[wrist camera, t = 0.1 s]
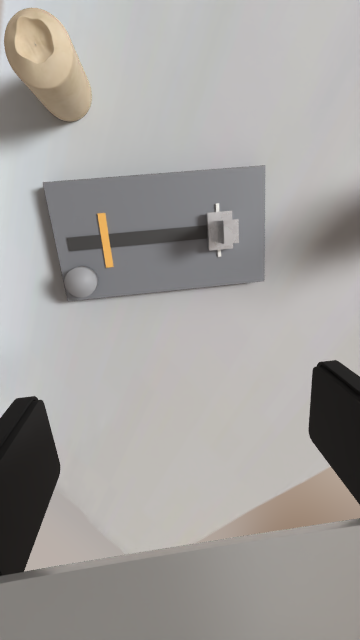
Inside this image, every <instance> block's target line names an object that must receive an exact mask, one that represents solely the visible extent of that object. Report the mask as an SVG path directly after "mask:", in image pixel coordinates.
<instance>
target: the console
mask: <svg viewBox="0 0 360 640" xmlns="http://www.w3.org/2000/svg"><path fill="white" fill-rule="evenodd" d="M43 186H44V191H45V196H46V201H47V205H48V210H49V215H50V219H51V224H52V229H53V234H54V238H55V243H56V248H57V253H58V257H59V262H60V267H61V271H62V276H63V281H64V286H65V290H66V295H67V300H68V301H75V300H85V299H95V298H104V297H114V296H124V295H134V294H143V293H153V292H163V291H173V290H182V289H192V288H202V287H212V286H221V285H231V284H241V283H251V282H260V281H264V258H265V165H262V166H249V167H236V168H223V169H210V170H197V171H184V172H171V173H158V174H145V175H132V176H119V177H106V178H93V179H80V180H67V181H54V182H43ZM223 211H232V220H233V219H239V243H233V248H232V249H221V250H211V251H209V250H208V238H207V219H206V213H211V212H223Z"/></svg>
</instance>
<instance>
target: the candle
mask: <svg viewBox="0 0 360 640" xmlns="http://www.w3.org/2000/svg"><path fill="white" fill-rule="evenodd" d="M4 46H5V52H6V56H7V59H8V61H9V63H10V65H11V67H12V69H13V70H14V72H15V73H16V74H17V76H18V77H19V78H20V79H21V80H22V81H23V82H24V83H25V85H26V86H27V87H28V88H29V89H30V90H31V91H32V92H33V94H34V95H35V96H36V97H37V98H38V99H39V100H40V101H41V103H42V104H43V105H44V106H45V107H46V108H47V109H48V110H49V111H50V112H51V113H52V114H53V115H54V116H55V117H57V118H59V119H61V120H64V121H77V120H79V119H81V118H82V117H84V116H85V115H86V113H87V112H88V110H89V108H90V105H91V100H92V94H91V87H90V84H89V81H88V79H87V77H86V74H85V72H84V70H83V67H82V65H81V63H80V60H79V58H78V56H77V54H76V51H75V49H74V47H73V44H72V42H71V40H70V37H69V35H68V33H67V31H66V29H65V28H64V26H63V25H62V24H61V22H60V21H59V20H58V19H57V18H56V17H54V16H53V15H52V14H50V13H49V12H47V11H45V10H42V9H38V8H27V9H23V10H21V11H19V12H17V13H16V14H15V15H14V16H13V17H12V18H11V20H10V21H9V23H8V25H7V27H6V30H5V36H4Z"/></svg>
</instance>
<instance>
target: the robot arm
mask: <svg viewBox="0 0 360 640" xmlns="http://www.w3.org/2000/svg"><path fill="white" fill-rule="evenodd" d="M309 435H310V438H311V440H312V442H313V443H314V444H315V446H316V447H317V448H318V450H319V451H320V452H321V454H322V455H323V456H324V458H325V459H326V460H327V462H328V463H329V464H330V466H331V467H332V468H333V470H334V471H335V472H336V474H337V475H338V476H339V478H340V479H341V480H342V482H343V483H344V484H345V486H346V487H347V488H348V489H349V491H350V492H351V494H352V495H353V496H354V498H355V499H356V500H357V502H358V503H359V504H360V377H359V376H358V375H357V374H355V373H354V372H352V371H351V370H350V369H348V368H347V367H346V366H344V365H343V364H341V363H340V362H339V361H336V360H334V361H325V362H319V363H318V364H317V367H314V368H313V374H312V388H311V403H310V417H309ZM59 474H60V462H59V458H58V454H57V451H56V447H55V443H54V439H53V435H52V432H51V428H50V424H49V420H48V416H47V413H46V409H45V405H44V402H43V401H42V400H38V398H37V397H35V396H32V397H24V398H17V399H15V400H14V401H13V403H12V404H11V405H10V407H9V408H8V409H7V410H6V412H5V413H4V414H3V415H2V417H1V418H0V640H360V518H359V519H352V520H346V521H339V522H332V523H325V524H319V525H312V526H305V527H299V528H292V529H286V530H279V531H273V532H266V533H260V534H253V535H247V536H240V537H234V538H228V539H221V540H215V541H209V542H202V543H196V544H189V545H183V546H177V547H170V548H164V549H158V550H152V551H145V552H139V553H133V554H127V555H121V556H115V557H109V558H103V559H96V560H91V561H84V562H78V563H72V564H67V565H60V566H54V567H48V568H42V569H37V570H31V571H26V572H24V570H25V567H26V564H27V562H28V559H29V556H30V553H31V550H32V548H33V545H34V542H35V540H36V537H37V534H38V532H39V529H40V526H41V523H42V521H43V518H44V516H45V513H46V510H47V507H48V504H49V502H50V499H51V496H52V494H53V491H54V488H55V486H56V483H57V480H58V478H59Z"/></svg>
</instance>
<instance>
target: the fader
mask: <svg viewBox="0 0 360 640" xmlns="http://www.w3.org/2000/svg"><path fill="white" fill-rule="evenodd" d="M206 219H207V238H208V250H209V251H211V250H221V249H232V248H233V243H239V219H233V220H232V211H223V212H211V213H206Z"/></svg>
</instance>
